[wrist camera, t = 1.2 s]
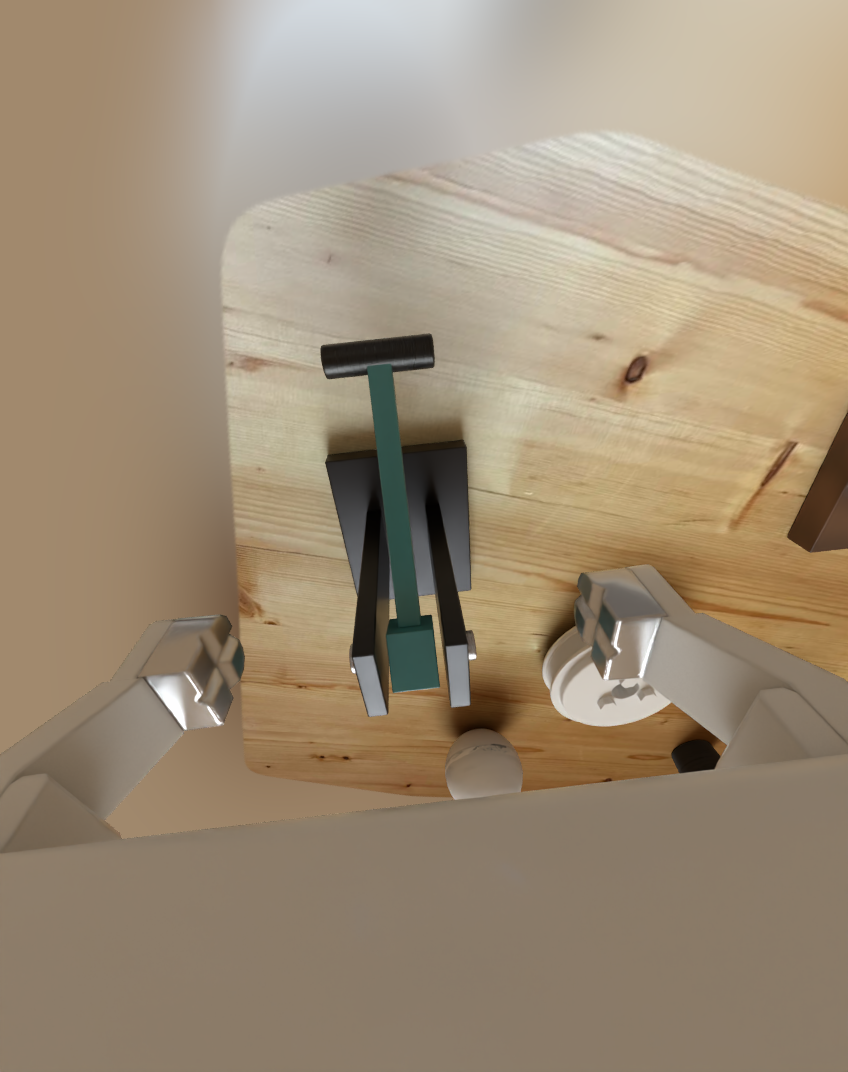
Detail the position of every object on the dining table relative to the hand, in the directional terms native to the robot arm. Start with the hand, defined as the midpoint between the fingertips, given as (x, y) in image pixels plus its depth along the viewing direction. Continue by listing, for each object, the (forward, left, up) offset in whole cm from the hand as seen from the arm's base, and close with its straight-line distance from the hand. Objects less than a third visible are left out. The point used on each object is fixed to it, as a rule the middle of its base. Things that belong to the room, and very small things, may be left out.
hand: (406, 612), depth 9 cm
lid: (+10, +29, -19) cm, 36 cm away
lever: (+3, +2, -11) cm, 11 cm away
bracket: (+7, +5, -19) cm, 20 cm away
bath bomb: (+27, +26, -19) cm, 42 cm away
